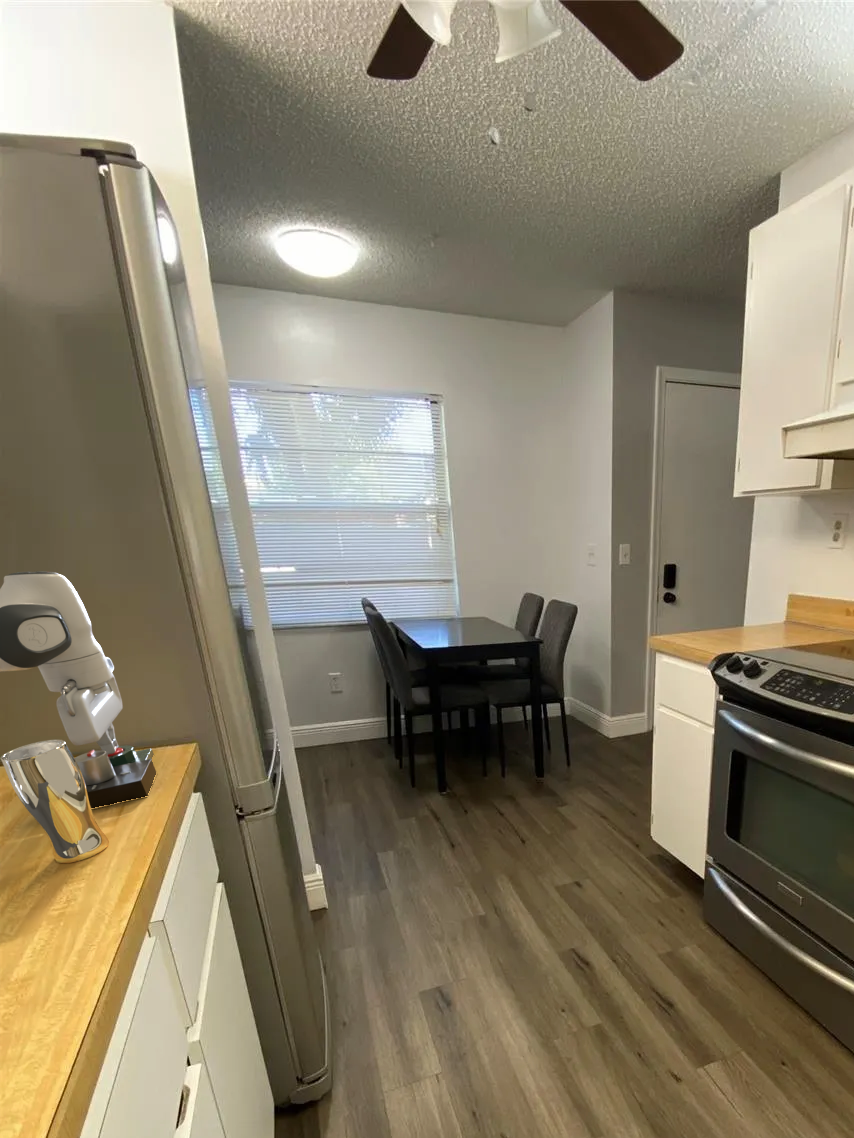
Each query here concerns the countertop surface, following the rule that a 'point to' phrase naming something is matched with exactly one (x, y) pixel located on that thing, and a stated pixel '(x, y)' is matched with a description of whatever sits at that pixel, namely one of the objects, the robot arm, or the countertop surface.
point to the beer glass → (56, 798)
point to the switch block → (130, 756)
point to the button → (116, 752)
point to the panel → (123, 784)
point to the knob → (95, 767)
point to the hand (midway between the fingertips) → (111, 751)
